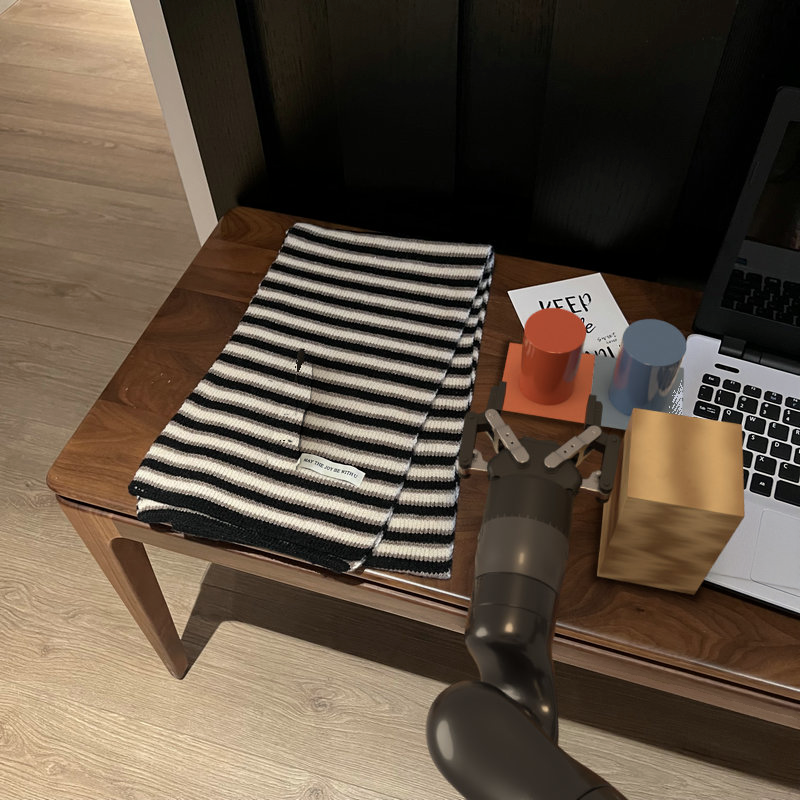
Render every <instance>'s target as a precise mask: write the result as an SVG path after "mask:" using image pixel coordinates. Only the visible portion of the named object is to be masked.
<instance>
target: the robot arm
mask: <svg viewBox="0 0 800 800" xmlns="http://www.w3.org/2000/svg"><path fill="white" fill-rule="evenodd" d="M506 386H507V382H505V381H502V380H499V383H498V385H496V384H495V385H492V387H491V388H490V392H489V396H488V401H487V405H486V409H485V410H484V411H483V412H479V413H476V411H472V410H471V411H467V412H466V413H465V414H464V420H463V426H462V433H461V440H460V447H459V451H458V452H459V453H458V457H457V458H458V459H457V466H458V467H457V469H458V470H457V475H458V477H459V478H460V479H462V480H468V479H470V477H471V476H472V475H476V476H482V477H487V480H488V489H487V494H486V498H485V499H486V500H485V503H484V504H485V505H484V509H483V515H482V520H481V523H480V524H481V525H480V530H479V532H478V534H477V539H476V540H477V545H476V550H475V555H474V569H473V570H474V571H473V579H472V581H473V582H472V587H471V592H470V597H469V601H468V608H467V613H466V618H465V625H464V630H463V631H464V634H463V638H464V639H463V640H464V644H465V645H464V646H465V648H466V650H467V652H468V653H469V654H470V656H471V658H472V659H473V661H474V663H475V664H476V667H477V669H478V672H479V675H480V680H473V679H470V680H462V681H457V682H455V683H453V684H451V685H449V686H447V687H446V688H444V689H443V690H442V691H441V692H440V693H438V695H437V696H436V697H435V699H434V700H433V701H432V703H431V704H430V706H429V709H428V712H427V715H426V720H425V727H424V728H425V733H424V734H425V741H426V747H427V750H428V754H429V756H430V758H431V760H432V762H433V764H434V766H435V768H436V769H437V771H438V772H439V774H441V776H442V777H443V778H444V779H445V780H446V781H447V782H448V783H449V785H450V786H451V787H452V788H453V789H455V791H457V792H458V793H459V794H460V795H461V796H462V798H464V800H629V798H627V796H625V795H624V794H623V793H622V792H620V790H619V789H617V788H616V787H615V786H614V785H612V784H611V782H609V781H608V780H606V779H605V778H604V777H602V776H601V775H599V774H598V773H597V772H595V771H594V770H592V769H591V768H589V767H587V766H586V765H585V764H583V763H582V762H580V761H578V760H577V759H575V758H574V757H572V756H571V755H570V754H568V752H566V751H565V750H564V749H563V748H562V747H561V746H560V745H559V742H560V741H559V740H560V729H559V727H560V725H559V711H558V710H559V709H558V696H557V695H558V694H557V681H556V673H555V667H554V658H553V646H554V640H555V635H556V626H557V618H558V611H559V602H560V596H561V592H562V588H563V584H564V581H565V577H566V572H567V564H568V560H569V556H570V539H571V529H572V524H573V523H572V522H573V515H574V505H575V499H576V497H577V496H578V495H579V494H584V495H589V496H593V497H595V500H596V501H597V502H598V503H599V504H604V503H607V502H608V501H609V498H610V495H611V492H612V489H613V486H614V480H615V474H616V468H617V462H618V456H619V450H620V447H621V444H622V439H621V437H620V436H619V435H617V434H613V433H612V434H608V433H606V432H604V431H603V429H602V426H601V420H602V410H603V405H602V402H600V401H596V398H597V395H591V394H589V397H588V401H587V406H586V413H585V422H584V423H583V430H582V432H581V433H580V434H579V435H575V436H573V437H572V438H570V439H569V440H568V441H567V442H565V443H564V444H563V445H560V444H558V441H556V440H551V439H542V440H541V439H537V438H534V437H532V436H526V435H523V436H522V437H521V438H517V437H516V435H515V433H514V431H513V430H512V429H511V427H510V426H509V424H506V423H505V422H504V420H503V418H502V413H503V411H504V410H503V405H504V400H505V395H506ZM478 433H486V435H487V437H488V438H489V440H490V442H491V443H492V446H493V450H494V451H495V453H496V454H495V455H494V456H493V457H491V458H490V459H489V460H488V461H485V460H484V459H483V457H482V456H483V455H482V453H481V451H479V450H478V449H477V448H476V442H477V435H478ZM595 451H596V452H598V453H601V454H602V457H601V462H600V468H599V469H598V470H594V471H593V472H591V474H590V476H589V477H588V478H583V476H582V474H581V472H580V471H579V469H578V468H577V467H579V466H580V465H581V464H582V462H583V461H584V459H586V458H587V457H588V456H590V454H592V453H594V452H595Z"/></svg>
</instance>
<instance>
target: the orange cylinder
mask: <svg viewBox="0 0 800 800" xmlns="http://www.w3.org/2000/svg"><path fill="white" fill-rule="evenodd" d="M586 337H587V328H586V325H585V323H584V322H583V320H582V319H581V318H580V316H578V315H577V314H576V313H574V312H572V311H570V310H568V309H564V308H560V307H547V308H542V309H539V310H536V311H535V312H534V313H532V314H531V315H530V316H529V317H528V318H527V320H526V321H525V324H524V328H523V336H522V343H521V344H522V352H521V360H520V368H519V376H518V385H519V388H520V390H521V392H522V393H523V394H524V396H525V397H527V398H528V399H529V400H531V401H533V402H535V403H538V404H542V405H555V404H559V403H562V402H564V401H565V400H567V399H568V398H569V397H570V396H571V395H572V393H573V391H574V388H575V384H576V379H577V375H578V370H579V366H580V361H581V357H582V353H584V352H583V351H584V347H585V343H586V339H587V338H586Z"/></svg>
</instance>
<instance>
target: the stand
mask: <svg viewBox="0 0 800 800" xmlns="http://www.w3.org/2000/svg"><path fill="white" fill-rule="evenodd" d="M743 448H744V446H743V425H742V424H739V423H735V422H728V421H720V420H714V419H708V418H702V417H695V416H688V415H684V414H683V415H676V414H670V413H663V412H657V411H650V410H644V409H638V408H633V411H632V414H631V417H630V420H629V423H628V426H627V429H626V430H625V432H624V436H623V438H622V440H621V444H620V450H619V456H618V462H617V468H616V474H615V480H614V486H613V489H612V492H611V495H610V498H609V501H608V502H607V503H603V510H602V521H601V522H602V523H601V531H600V532H601V533H600V534H601V535H600V542H599V543H600V544H599V552H598V562H597V573H596V576H597V577H600V578H606V579H610V580H615V581H621V582H625V583H632V584H636V585H640V586H647V587H653V588H658V589H662V590H667V591H673V592H677V593H683V594H688V595H693V596H694V595H695V594H696V593H697V592H698V590H699V588H700V586H701V585H702V584H703V583H704V580H705V579H706V578H707V576H708V575H709V573H710V571H711V569H712V568H713V567H714V565H715V563H716V562H717V560H718V559H719V557H720V556H721V554H722V553H723V551H724V549H725V548H726V546H727V545H728V543H729V542H730V540H731V538H732V537H733V535H734V534H735V532H736V531H737V529H738V528H739V527H740V524H741V523H742V521H743V520H744V518H745V513H746V512H745V488H744V487H745V483H744V482H745V481H744V452H743Z"/></svg>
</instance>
